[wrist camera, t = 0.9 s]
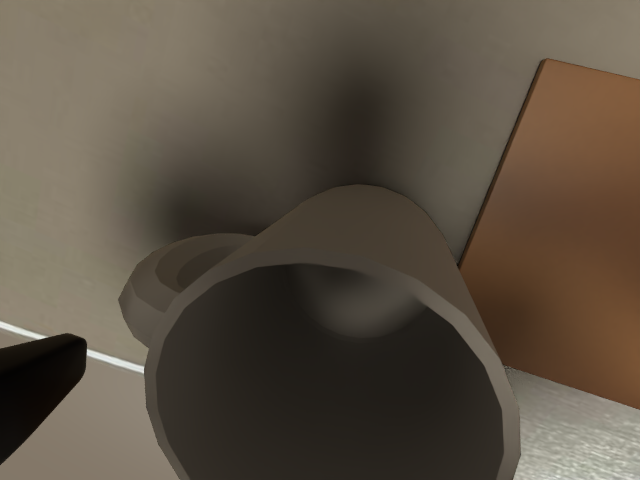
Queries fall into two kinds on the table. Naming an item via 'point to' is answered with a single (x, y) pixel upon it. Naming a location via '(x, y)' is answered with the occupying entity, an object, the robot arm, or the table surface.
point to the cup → (322, 350)
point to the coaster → (566, 235)
